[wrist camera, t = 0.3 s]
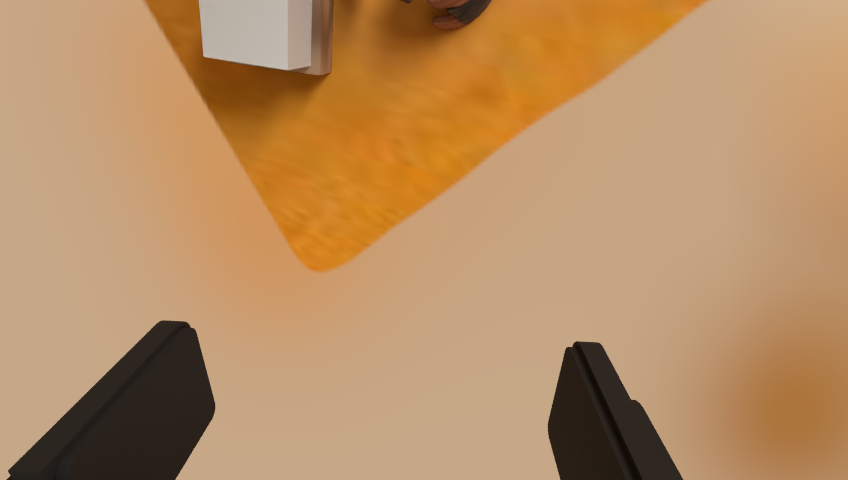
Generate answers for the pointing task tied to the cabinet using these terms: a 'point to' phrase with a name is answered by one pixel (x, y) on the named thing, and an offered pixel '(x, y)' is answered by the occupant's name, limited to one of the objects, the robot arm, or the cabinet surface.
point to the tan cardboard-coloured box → (318, 40)
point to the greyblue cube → (258, 32)
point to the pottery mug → (457, 12)
